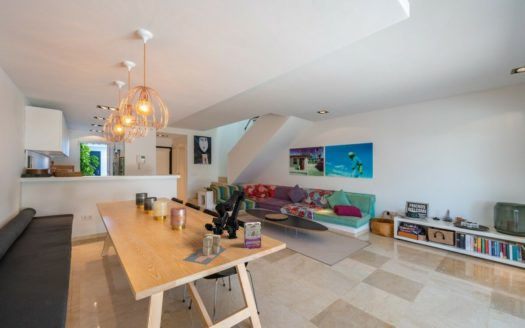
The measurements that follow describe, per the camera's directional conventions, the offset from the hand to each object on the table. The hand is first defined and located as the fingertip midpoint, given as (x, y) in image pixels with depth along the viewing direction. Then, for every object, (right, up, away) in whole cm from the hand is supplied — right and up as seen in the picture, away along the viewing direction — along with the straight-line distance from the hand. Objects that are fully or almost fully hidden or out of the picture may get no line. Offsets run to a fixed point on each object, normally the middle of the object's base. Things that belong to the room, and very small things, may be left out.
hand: (213, 240), depth 136 cm
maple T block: (-2, -6, -5) cm, 8 cm away
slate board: (-3, -7, -6) cm, 10 cm away
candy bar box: (+24, -8, +7) cm, 27 cm away
